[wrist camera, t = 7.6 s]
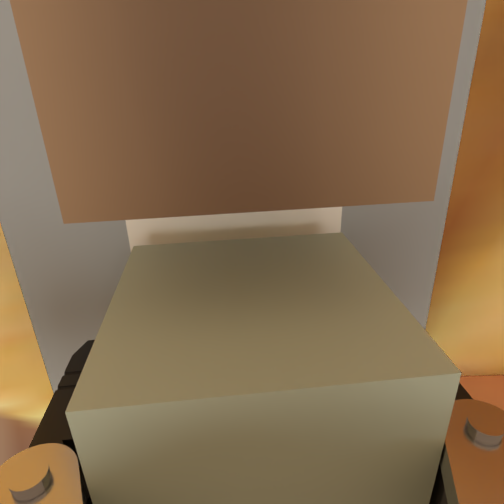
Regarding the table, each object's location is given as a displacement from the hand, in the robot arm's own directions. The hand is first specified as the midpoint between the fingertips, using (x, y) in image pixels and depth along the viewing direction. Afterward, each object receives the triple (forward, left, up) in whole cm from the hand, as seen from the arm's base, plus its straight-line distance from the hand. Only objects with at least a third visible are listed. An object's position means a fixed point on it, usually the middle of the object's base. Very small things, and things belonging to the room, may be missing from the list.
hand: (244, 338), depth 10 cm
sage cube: (0, 0, 0) cm, 0 cm away
